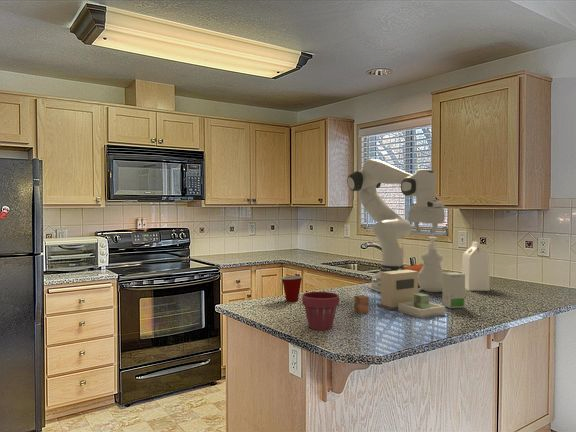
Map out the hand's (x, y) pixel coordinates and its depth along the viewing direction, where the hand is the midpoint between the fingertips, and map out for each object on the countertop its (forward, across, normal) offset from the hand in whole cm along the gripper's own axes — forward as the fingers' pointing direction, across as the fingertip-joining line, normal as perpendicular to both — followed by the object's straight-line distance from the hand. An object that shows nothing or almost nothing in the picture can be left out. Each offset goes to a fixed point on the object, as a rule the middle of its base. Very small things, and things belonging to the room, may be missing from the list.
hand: (425, 232), depth 219 cm
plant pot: (+34, +10, -65) cm, 74 cm away
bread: (+34, -42, +35) cm, 65 cm away
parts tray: (+34, +12, -14) cm, 39 cm away
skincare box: (+34, +10, +8) cm, 37 cm away
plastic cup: (+34, -37, -52) cm, 72 cm away
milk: (+34, -15, +53) cm, 65 cm away
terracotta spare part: (+34, -2, -36) cm, 50 cm away
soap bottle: (+34, -21, +26) cm, 48 cm away
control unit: (+34, -2, -14) cm, 37 cm away
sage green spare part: (+33, +12, -14) cm, 38 cm away
